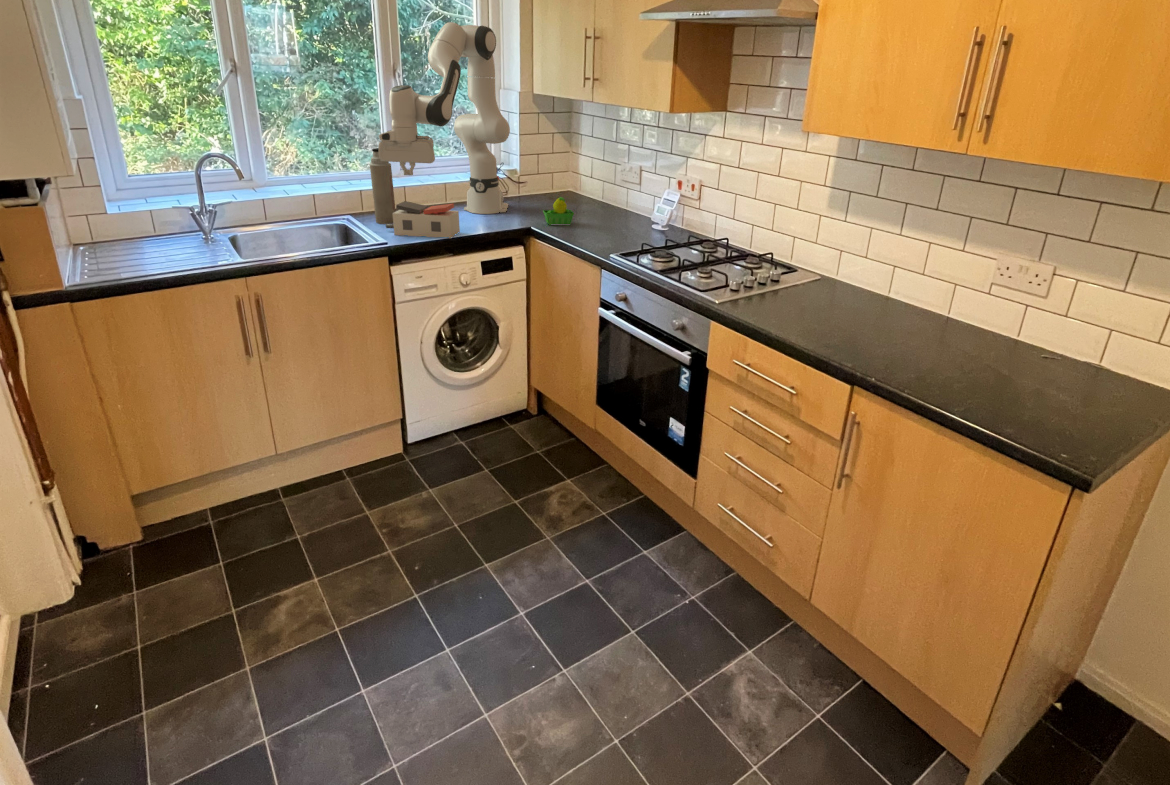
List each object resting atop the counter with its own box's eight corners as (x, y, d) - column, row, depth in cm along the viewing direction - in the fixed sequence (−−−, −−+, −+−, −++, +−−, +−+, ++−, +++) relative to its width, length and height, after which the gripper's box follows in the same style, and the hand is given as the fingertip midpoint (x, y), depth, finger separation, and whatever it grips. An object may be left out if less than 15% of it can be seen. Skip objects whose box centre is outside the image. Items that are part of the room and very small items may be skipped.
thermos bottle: (398, 219, 288) (391, 147, 276) (393, 224, 281) (386, 150, 269) (379, 219, 288) (371, 147, 276) (373, 223, 281) (365, 149, 269)
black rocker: (404, 206, 269) (404, 200, 268) (427, 211, 269) (427, 206, 268) (396, 210, 262) (396, 204, 261) (419, 215, 262) (419, 210, 261)
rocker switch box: (392, 228, 275) (390, 207, 271) (459, 232, 271) (458, 210, 268) (381, 234, 266) (379, 212, 262) (450, 238, 262) (449, 216, 259)
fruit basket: (570, 221, 291) (570, 193, 286) (575, 226, 283) (575, 197, 278) (542, 222, 288) (542, 194, 284) (546, 227, 281) (546, 198, 276)
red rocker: (432, 211, 268) (431, 206, 268) (454, 208, 266) (453, 203, 266) (424, 215, 261) (423, 210, 260) (447, 213, 259) (446, 207, 259)
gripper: (436, 135, 255) (438, 175, 261) (382, 133, 258) (386, 172, 264) (429, 137, 250) (432, 177, 256) (374, 134, 252) (378, 175, 258)
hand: (408, 175), depth 260 cm, fingers closed
